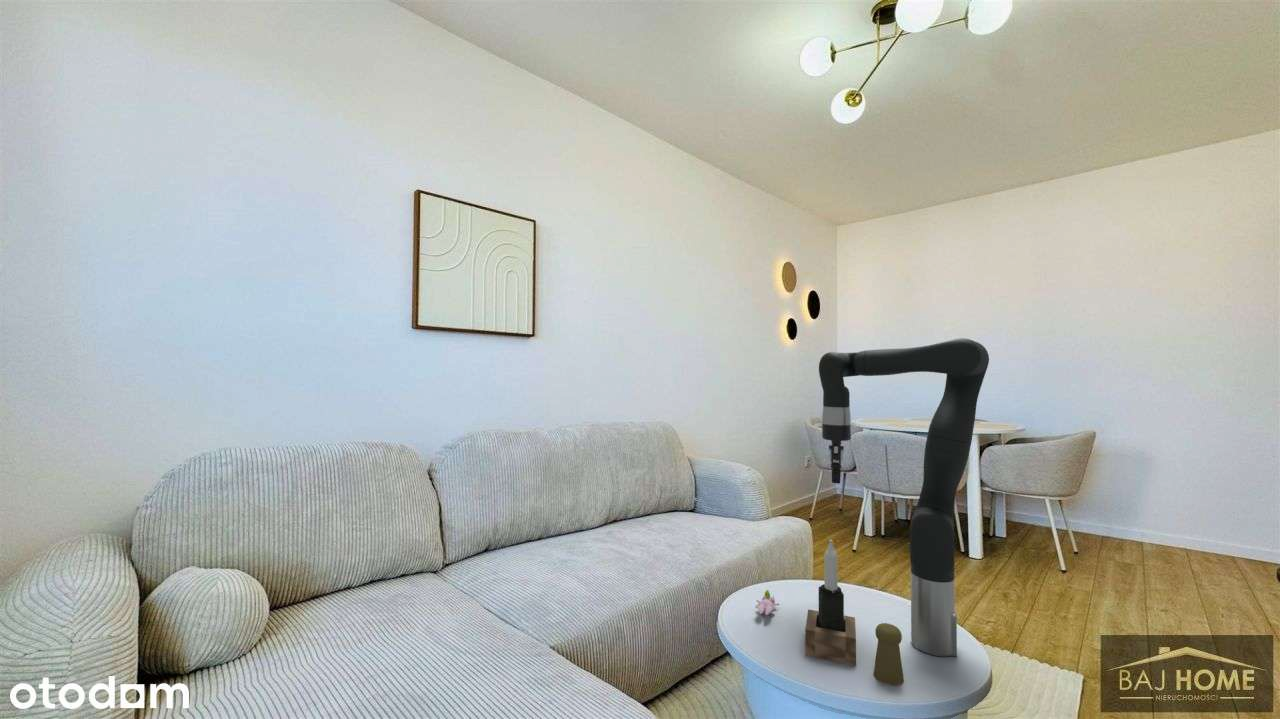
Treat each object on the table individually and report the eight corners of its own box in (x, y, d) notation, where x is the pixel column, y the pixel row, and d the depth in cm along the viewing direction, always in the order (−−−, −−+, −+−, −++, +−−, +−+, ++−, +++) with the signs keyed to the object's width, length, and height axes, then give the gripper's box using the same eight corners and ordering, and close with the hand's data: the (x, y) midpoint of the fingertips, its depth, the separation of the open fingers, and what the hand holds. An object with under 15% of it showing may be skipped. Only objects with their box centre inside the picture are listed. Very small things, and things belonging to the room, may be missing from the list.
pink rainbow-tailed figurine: (758, 604, 149) (751, 619, 135) (758, 583, 150) (752, 595, 136) (780, 608, 147) (775, 623, 133) (780, 586, 148) (776, 598, 134)
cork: (868, 669, 114) (867, 619, 114) (893, 668, 115) (893, 619, 115) (883, 686, 108) (882, 633, 108) (910, 685, 108) (910, 632, 109)
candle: (838, 639, 125) (838, 536, 126) (845, 650, 120) (844, 543, 121) (817, 638, 125) (817, 535, 126) (822, 649, 120) (822, 542, 121)
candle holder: (855, 642, 126) (854, 617, 126) (856, 665, 116) (856, 638, 116) (808, 633, 130) (808, 609, 130) (805, 655, 120) (805, 629, 120)
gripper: (850, 425, 137) (851, 486, 136) (850, 421, 150) (850, 476, 149) (821, 424, 139) (821, 484, 139) (823, 420, 153) (823, 474, 152)
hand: (836, 480), depth 144 cm, fingers open, 8 cm apart
